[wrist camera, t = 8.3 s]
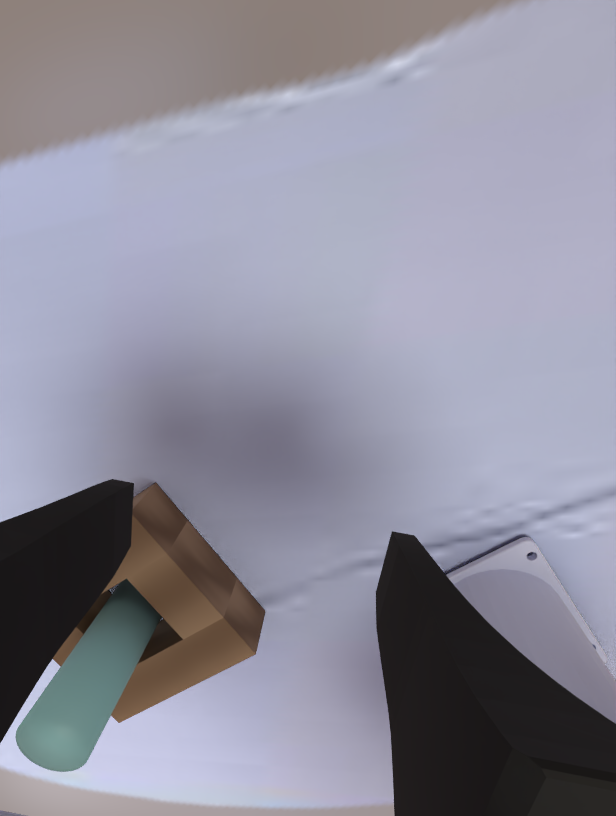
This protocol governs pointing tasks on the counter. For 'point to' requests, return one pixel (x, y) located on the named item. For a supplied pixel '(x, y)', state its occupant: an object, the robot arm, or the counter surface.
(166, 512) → the hole block
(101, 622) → the peg
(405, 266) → the counter surface
